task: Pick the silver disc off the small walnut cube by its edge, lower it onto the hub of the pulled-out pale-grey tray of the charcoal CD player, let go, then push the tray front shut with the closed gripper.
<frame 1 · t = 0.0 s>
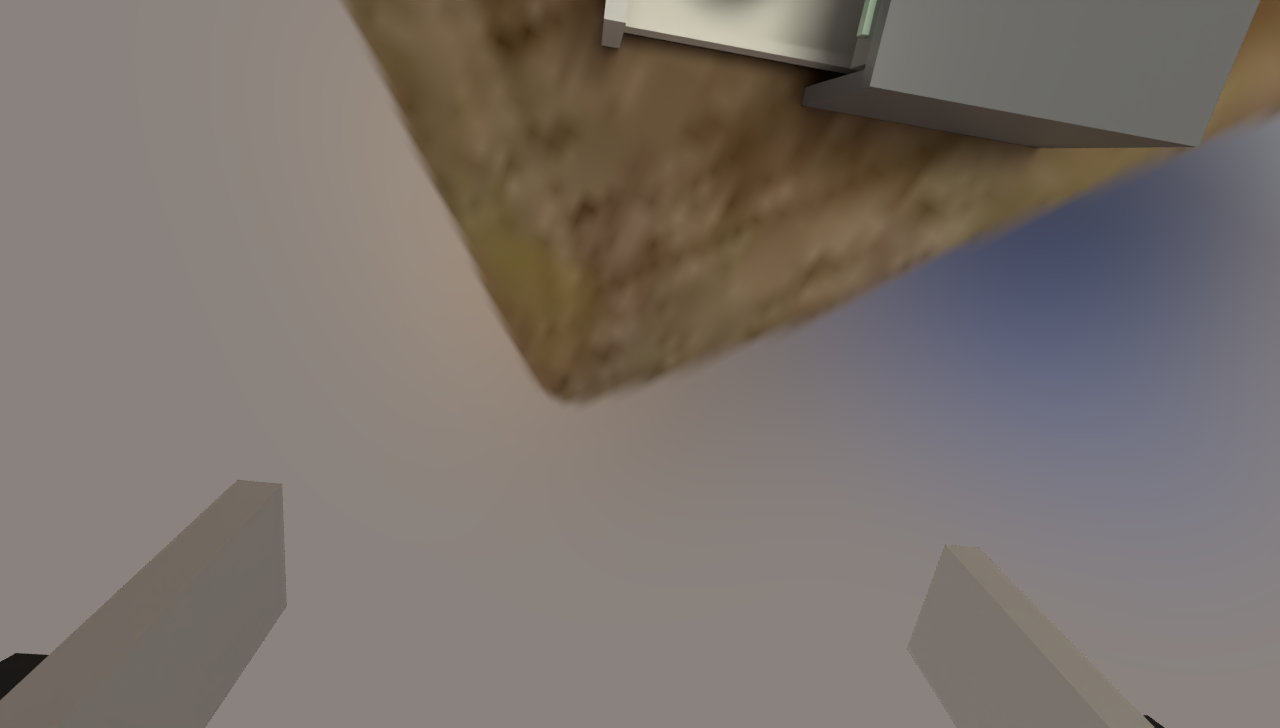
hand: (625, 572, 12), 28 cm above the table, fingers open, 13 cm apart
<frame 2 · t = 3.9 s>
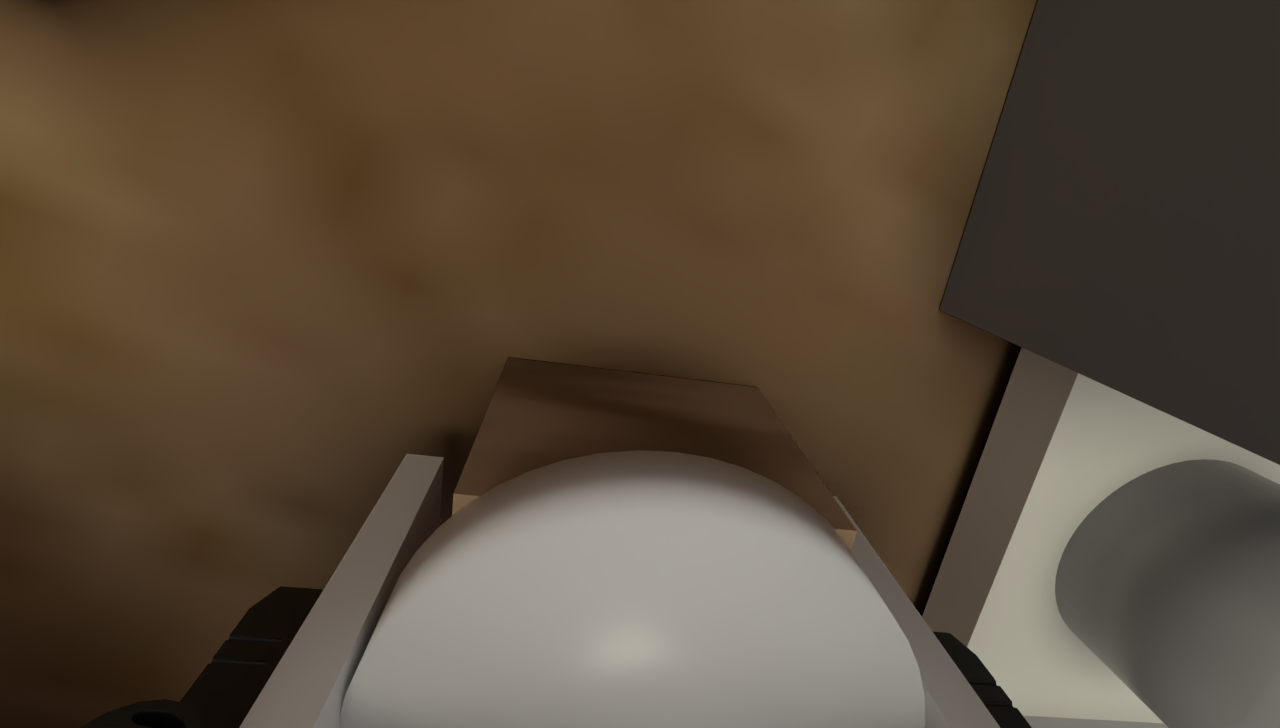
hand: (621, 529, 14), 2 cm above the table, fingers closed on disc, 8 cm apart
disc: (632, 672, 10), point 6 cm above the table, touching gripper, riser cube
riser cube: (617, 482, 16), on the table
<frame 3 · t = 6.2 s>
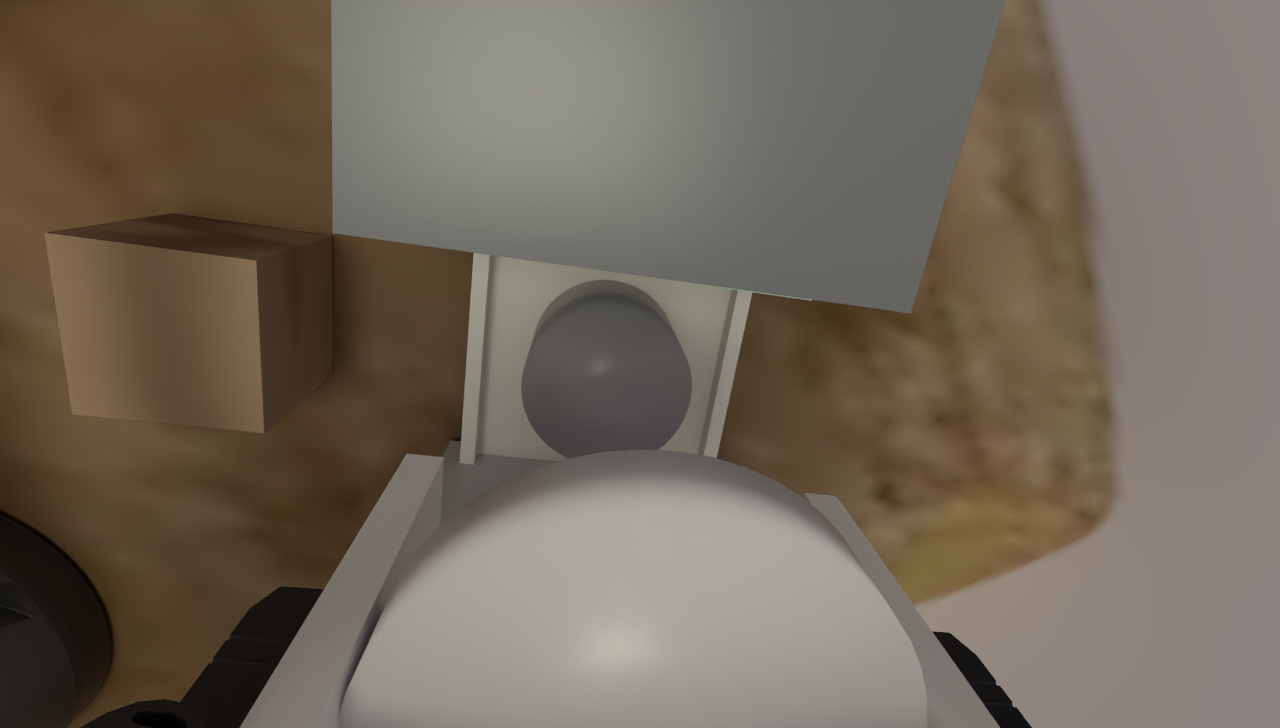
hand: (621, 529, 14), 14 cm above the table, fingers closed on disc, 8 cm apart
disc: (633, 672, 10), point 18 cm above the table, touching gripper
tray: (610, 338, 23), point 4 cm above the table, slide at 10.5 cm
riser cube: (256, 297, 25), on the table
player housing: (649, 13, 23), on the table
when the fingers open (4 cm above the table, at t = 8.5 s): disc drops 2 cm, resting on tray.
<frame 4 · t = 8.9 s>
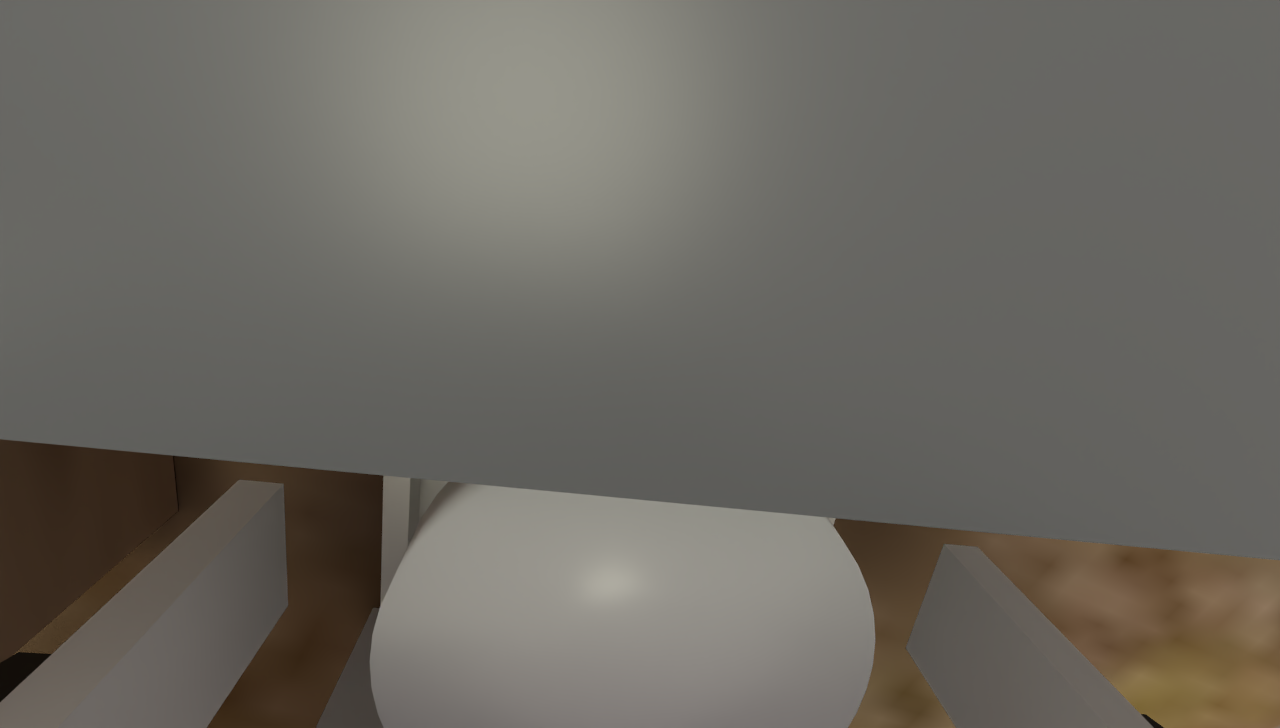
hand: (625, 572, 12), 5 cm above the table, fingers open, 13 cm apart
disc: (624, 606, 11), point 6 cm above the table, touching tray
tray: (631, 487, 13), point 4 cm above the table, slide at 10.5 cm, touching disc
riser cube: (37, 395, 15), on the table
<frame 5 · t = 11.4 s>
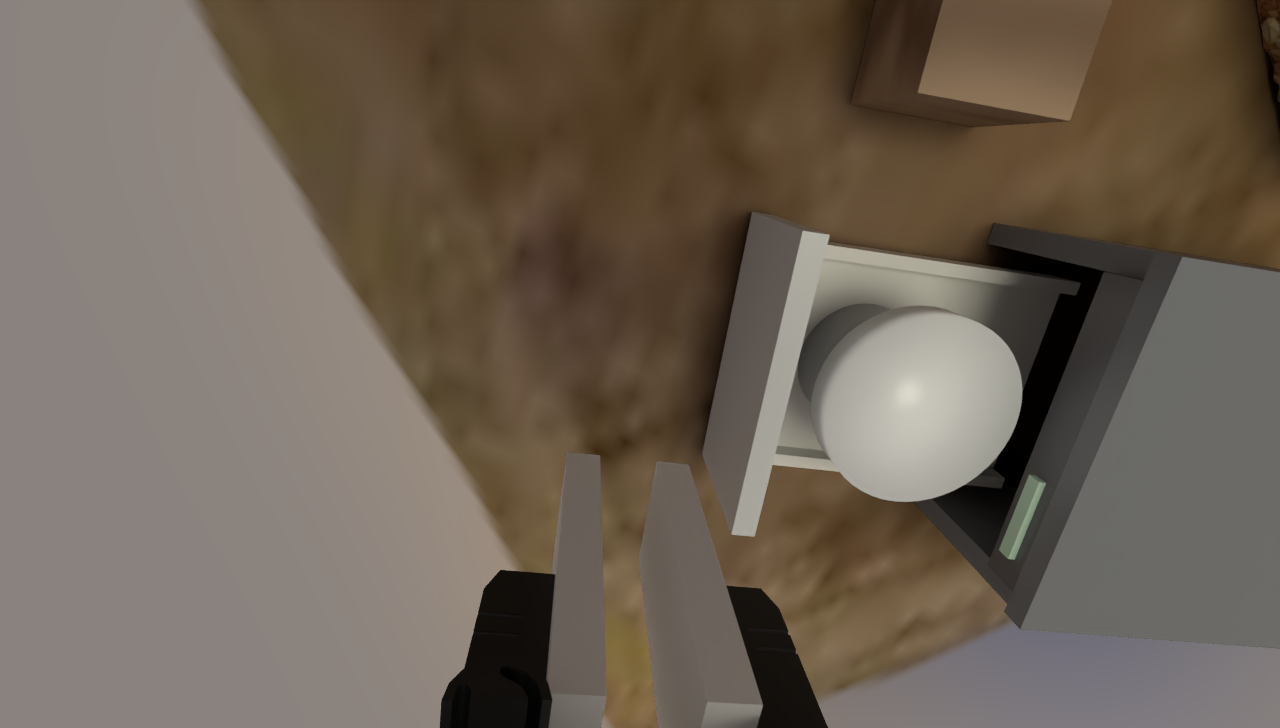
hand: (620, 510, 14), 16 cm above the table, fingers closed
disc: (904, 398, 26), point 6 cm above the table, touching tray
tray: (907, 385, 28), point 4 cm above the table, slide at 10.5 cm, touching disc
riser cube: (932, 43, 27), on the table
player housing: (1075, 384, 33), on the table
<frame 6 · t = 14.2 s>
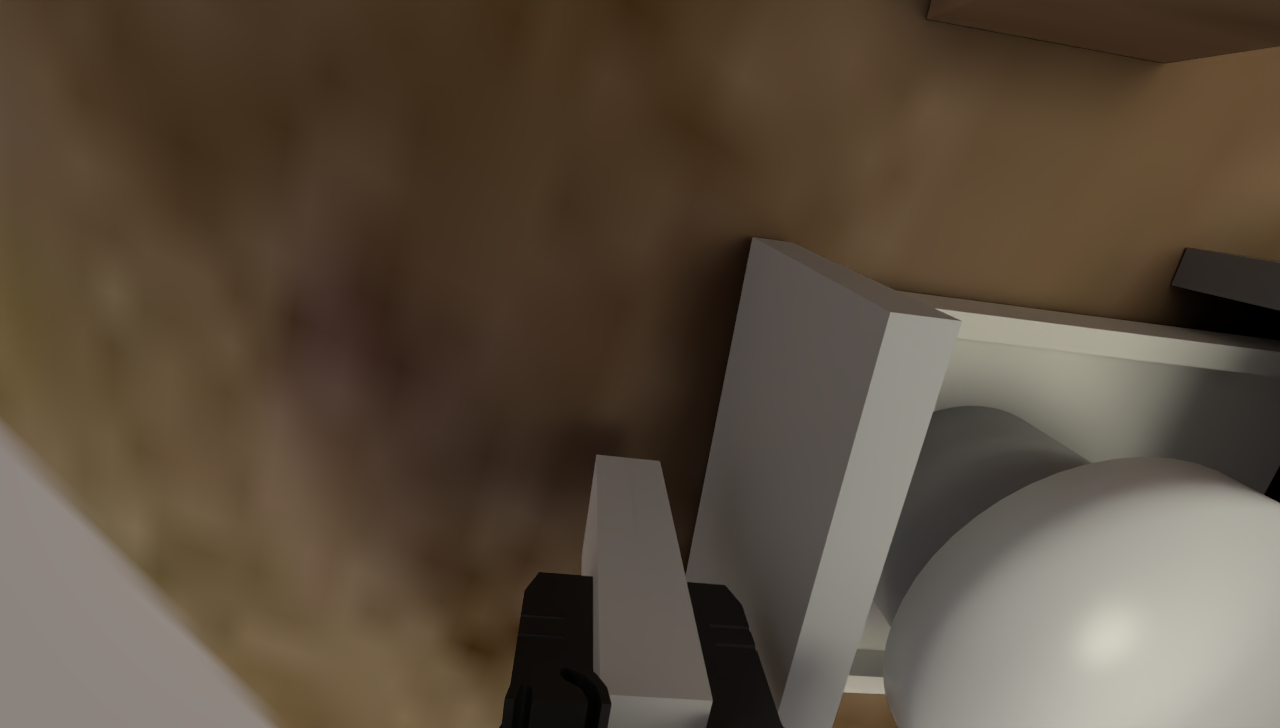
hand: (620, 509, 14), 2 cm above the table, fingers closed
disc: (1081, 637, 12), point 6 cm above the table, touching tray
tray: (1061, 574, 14), point 4 cm above the table, slide at 10.0 cm, touching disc, gripper
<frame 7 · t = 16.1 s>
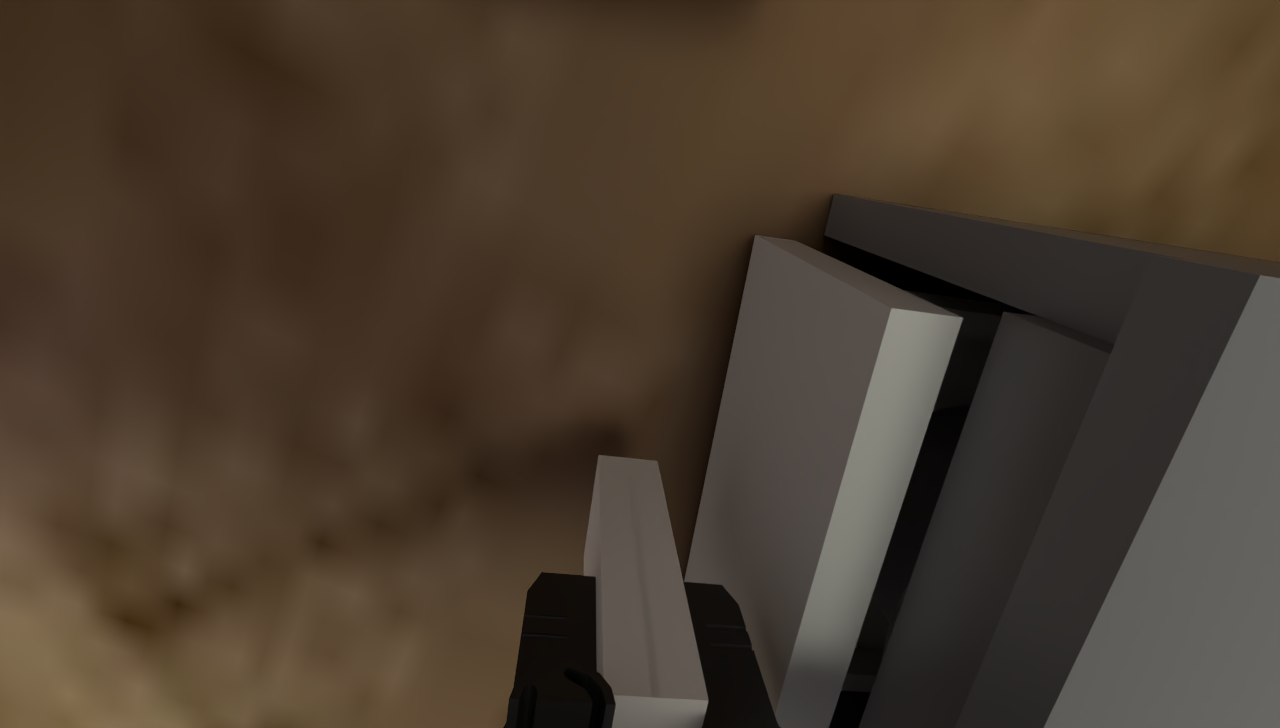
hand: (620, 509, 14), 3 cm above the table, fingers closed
tray: (1062, 574, 14), point 4 cm above the table, slide at 0.3 cm, touching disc
player housing: (1013, 491, 18), on the table
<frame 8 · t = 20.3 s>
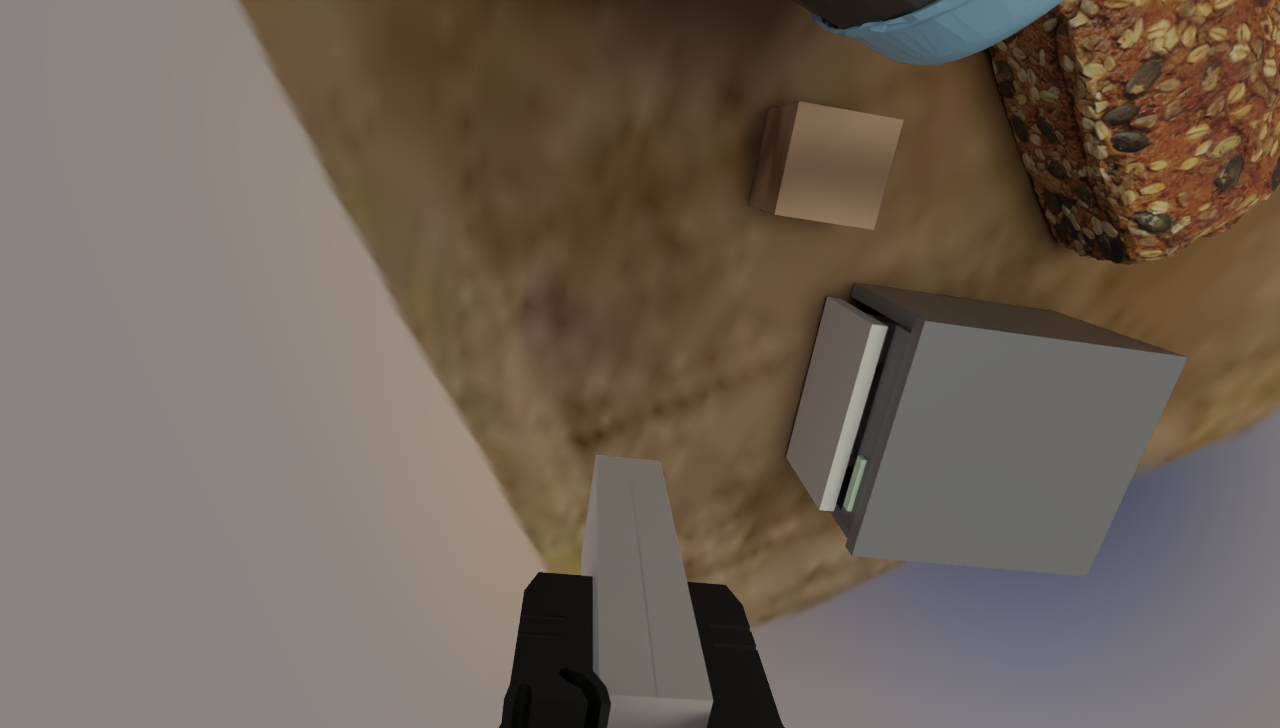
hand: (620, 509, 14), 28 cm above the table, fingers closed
bread: (1074, 91, 40), on the table
tray: (931, 412, 42), point 4 cm above the table, slide at 0.3 cm, touching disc
riser cube: (802, 165, 40), on the table
player housing: (922, 393, 46), on the table
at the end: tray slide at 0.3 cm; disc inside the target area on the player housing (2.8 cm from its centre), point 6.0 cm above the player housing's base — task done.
